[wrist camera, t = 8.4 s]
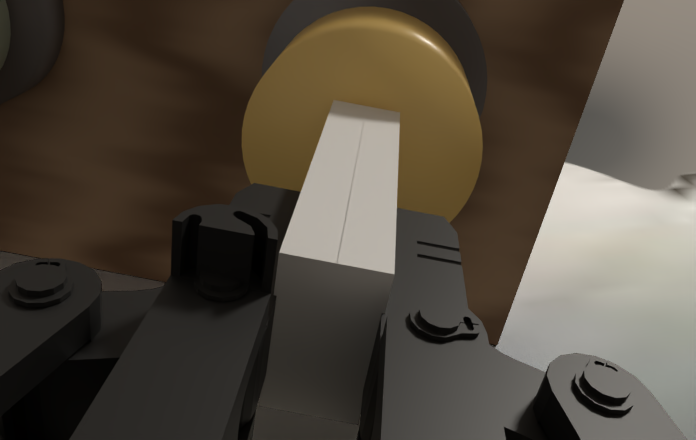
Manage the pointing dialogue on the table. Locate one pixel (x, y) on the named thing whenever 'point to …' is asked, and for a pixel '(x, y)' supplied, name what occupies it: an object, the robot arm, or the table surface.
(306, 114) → the ochre button
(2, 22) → the sage button
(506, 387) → the robot arm
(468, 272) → the console
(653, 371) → the table surface
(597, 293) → the table surface
